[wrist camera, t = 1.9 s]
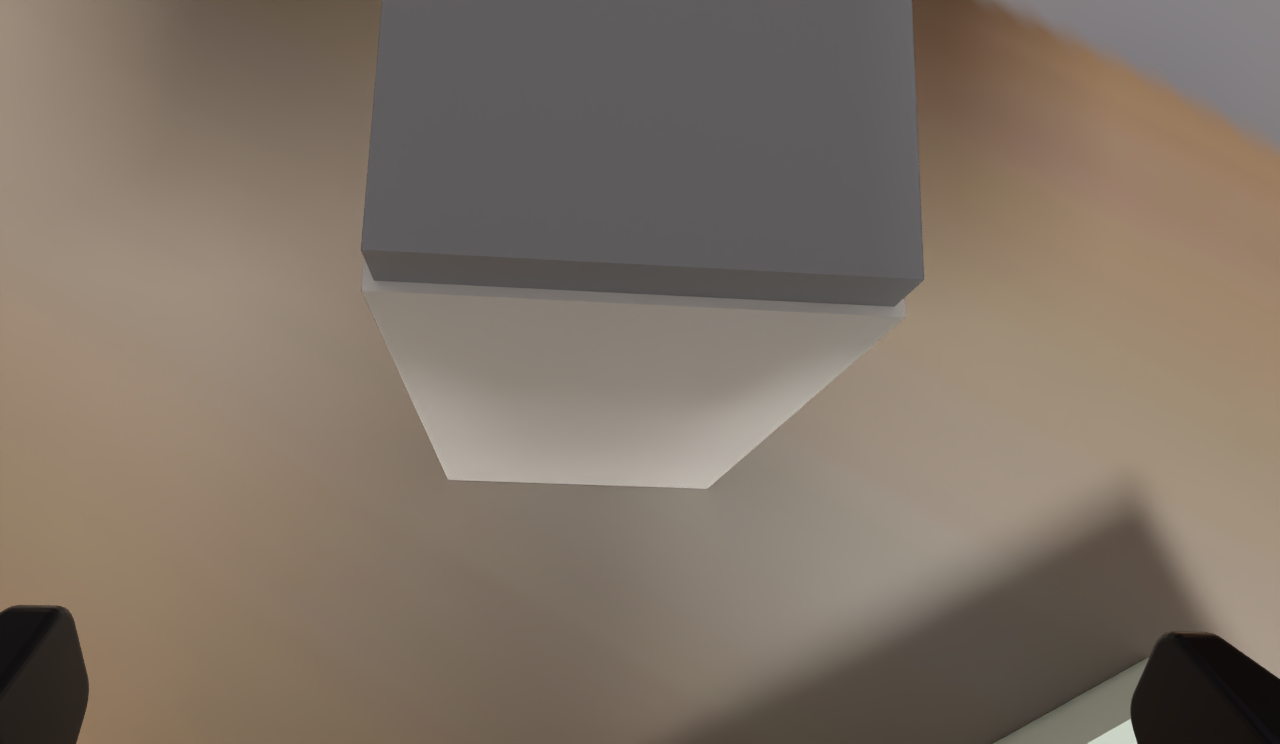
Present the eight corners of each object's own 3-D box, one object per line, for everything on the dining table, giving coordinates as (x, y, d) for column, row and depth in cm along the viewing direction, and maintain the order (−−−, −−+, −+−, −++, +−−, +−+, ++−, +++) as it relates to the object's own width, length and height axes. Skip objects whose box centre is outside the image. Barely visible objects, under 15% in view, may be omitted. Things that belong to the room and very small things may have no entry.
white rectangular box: (707, 488, 22) (935, 291, 10) (448, 479, 21) (347, 260, 9) (709, 247, 23) (912, -199, 11) (463, 233, 22) (392, -247, 10)
